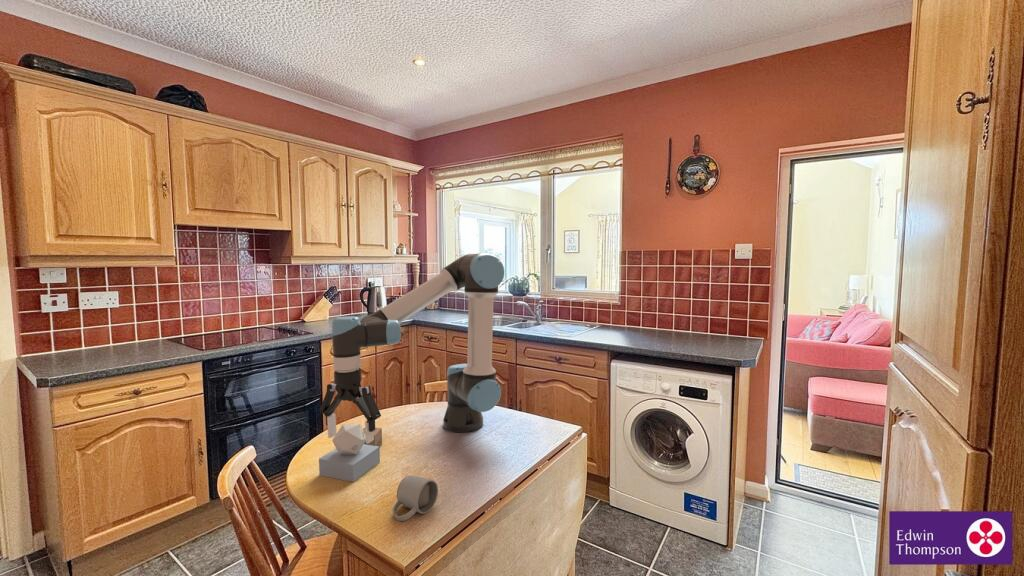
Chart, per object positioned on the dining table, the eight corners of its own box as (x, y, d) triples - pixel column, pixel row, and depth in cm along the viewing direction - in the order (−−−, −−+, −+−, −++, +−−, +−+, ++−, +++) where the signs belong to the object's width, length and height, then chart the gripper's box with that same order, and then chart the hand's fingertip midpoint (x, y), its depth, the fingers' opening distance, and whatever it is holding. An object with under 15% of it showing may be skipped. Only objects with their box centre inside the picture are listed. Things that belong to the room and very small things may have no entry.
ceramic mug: (415, 494, 110) (414, 467, 109) (439, 503, 106) (438, 475, 105) (384, 517, 100) (383, 486, 100) (409, 527, 96) (408, 496, 96)
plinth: (379, 462, 127) (379, 446, 127) (353, 482, 116) (353, 464, 116) (347, 456, 131) (347, 441, 131) (319, 475, 120) (318, 458, 120)
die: (345, 464, 117) (367, 433, 120) (321, 447, 118) (342, 416, 121) (356, 461, 125) (376, 431, 128) (333, 445, 127) (353, 416, 129)
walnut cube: (382, 445, 140) (381, 427, 139) (375, 453, 134) (374, 435, 133) (364, 444, 140) (364, 427, 140) (357, 452, 134) (356, 434, 134)
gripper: (391, 368, 121) (393, 438, 123) (323, 363, 129) (326, 429, 131) (375, 375, 114) (378, 449, 116) (304, 369, 122) (307, 438, 124)
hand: (350, 438), depth 123 cm, fingers open, 13 cm apart
